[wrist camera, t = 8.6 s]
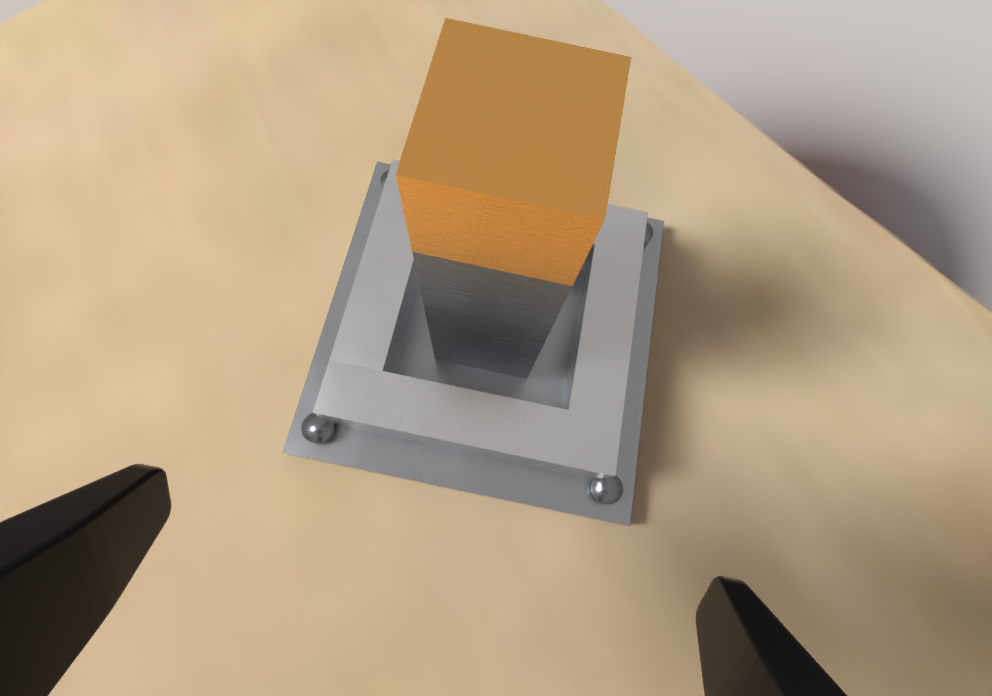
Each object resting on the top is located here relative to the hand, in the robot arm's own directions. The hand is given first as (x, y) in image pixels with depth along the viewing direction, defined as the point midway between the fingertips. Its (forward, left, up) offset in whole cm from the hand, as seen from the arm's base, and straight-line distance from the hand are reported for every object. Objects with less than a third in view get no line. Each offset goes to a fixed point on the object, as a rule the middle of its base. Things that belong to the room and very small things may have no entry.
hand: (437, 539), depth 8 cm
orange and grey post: (+7, +3, -12) cm, 14 cm away
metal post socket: (+7, +3, -13) cm, 15 cm away
